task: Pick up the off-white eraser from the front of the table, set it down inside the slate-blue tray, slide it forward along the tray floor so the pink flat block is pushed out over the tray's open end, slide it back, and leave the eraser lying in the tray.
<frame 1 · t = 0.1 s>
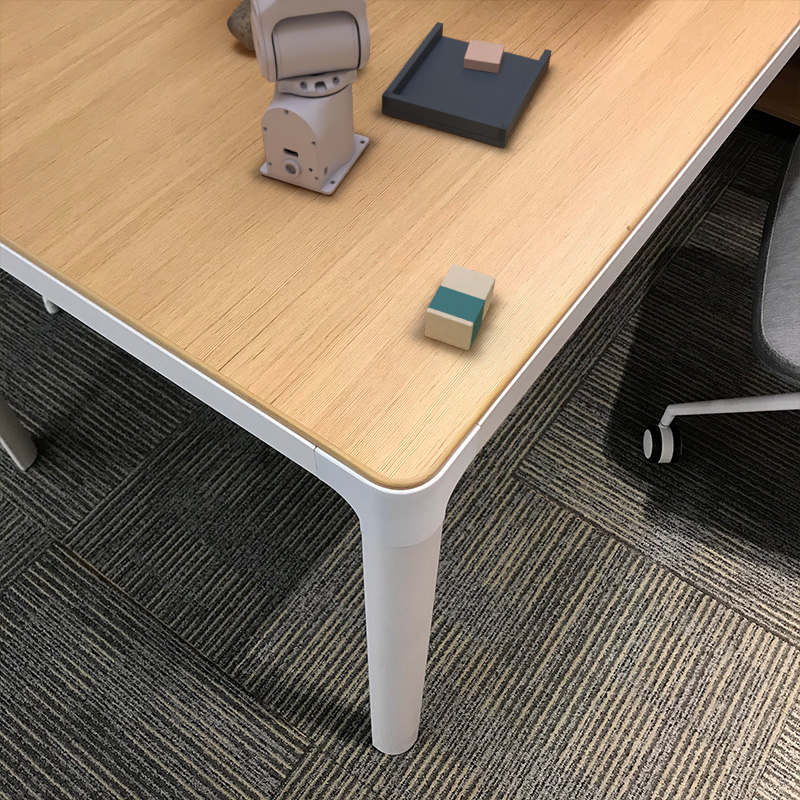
stone: (277, 44, 91), on the table
planter: (339, 68, 88), on the table
pink flat block: (483, 61, 88), point 1 cm above the table, touching tray
tray: (467, 90, 86), on the table
eraser: (458, 319, 67), on the table
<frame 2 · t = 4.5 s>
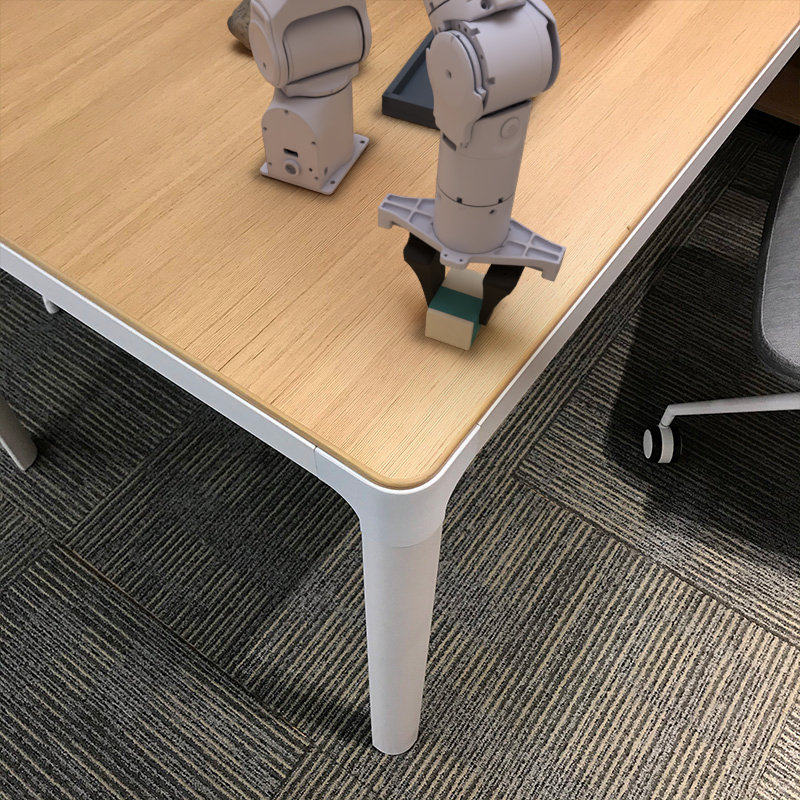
hand: (459, 308, 65), 1 cm above the table, tool pointing down, fingers closed on eraser, 4 cm apart
eraser: (458, 319, 67), on the table, touching gripper
everything else where it was.
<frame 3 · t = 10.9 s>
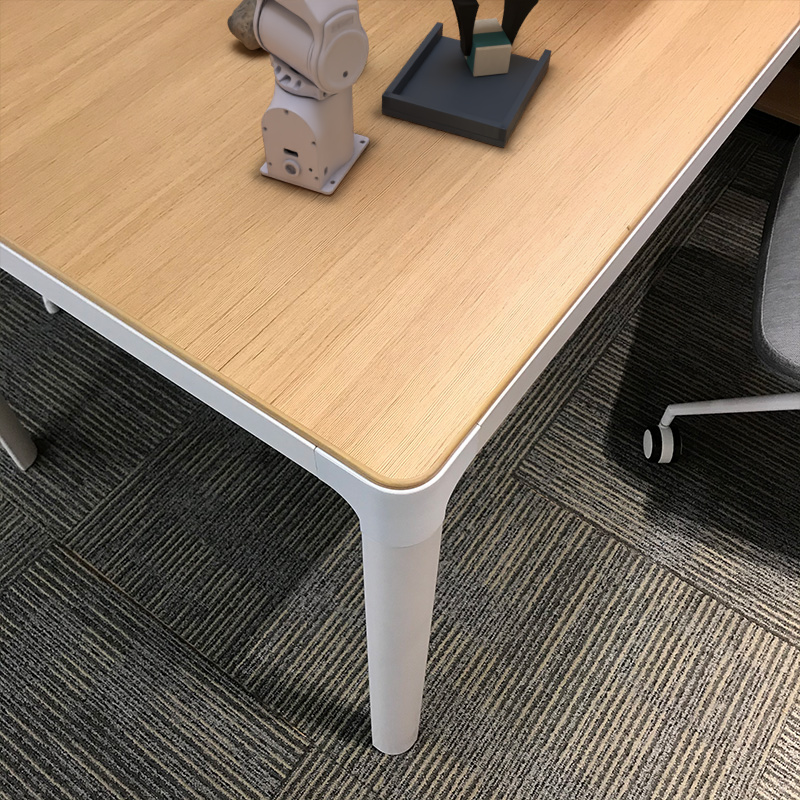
hand: (484, 49, 87), 2 cm above the table, tool pointing down, fingers closed on eraser, 4 cm apart
pink flat block: (492, 41, 92), on the table
eraser: (483, 60, 88), point 1 cm above the table, touching gripper
everything else where it was.
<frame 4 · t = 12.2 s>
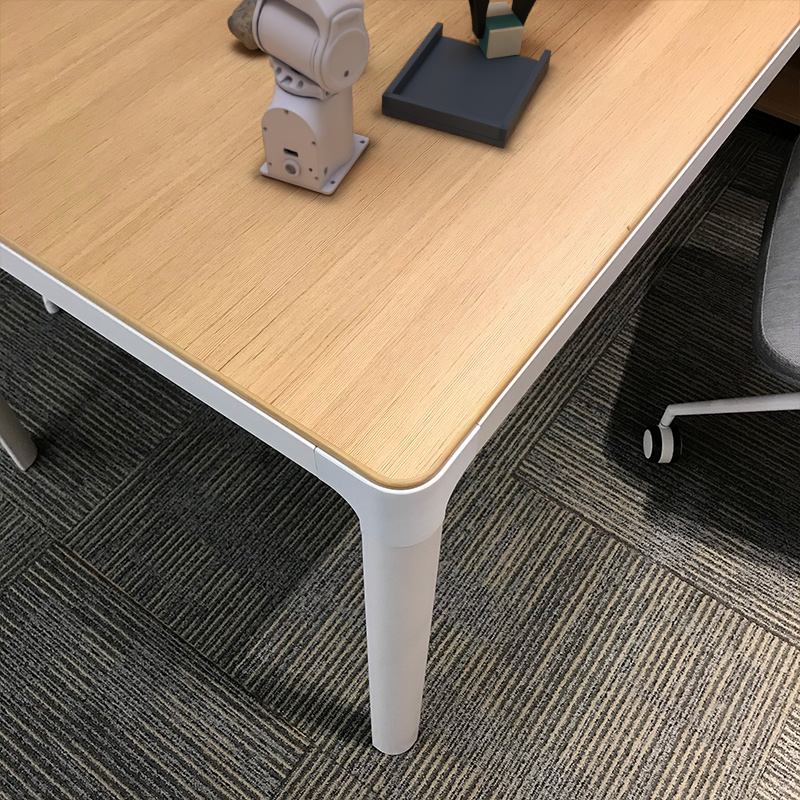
hand: (496, 31, 89), 2 cm above the table, tool pointing down, fingers closed on eraser, 4 cm apart
pink flat block: (496, 25, 94), on the table, touching eraser
eraser: (495, 42, 90), point 1 cm above the table, touching pink flat block, gripper
everything else where it was.
when the fingers open (2 cm above the table, at t = 15.4 s): eraser stays where it is, resting on tray.
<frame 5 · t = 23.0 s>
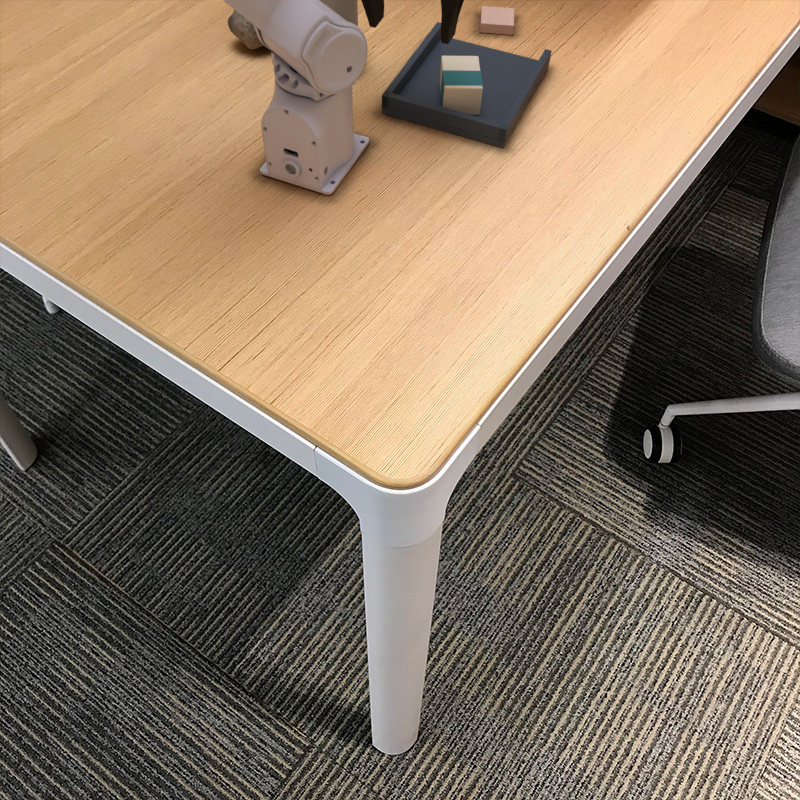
hand: (412, 29, 75), 9 cm above the table, tool pointing down, fingers open, 7 cm apart
pink flat block: (496, 25, 94), on the table
eraser: (459, 98, 84), point 1 cm above the table, touching tray
everything else where it was.
at the end: pink flat block on the table; eraser inside the target area on the tray (2.9 cm from its centre), point 0.8 cm above the tray's base; the gripper is holding nothing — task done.
